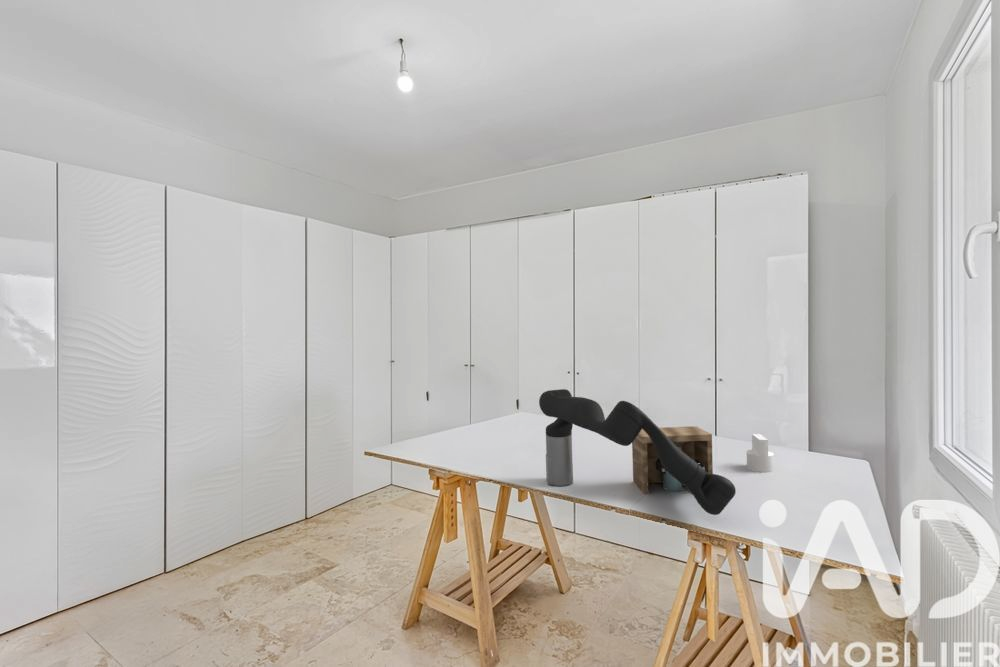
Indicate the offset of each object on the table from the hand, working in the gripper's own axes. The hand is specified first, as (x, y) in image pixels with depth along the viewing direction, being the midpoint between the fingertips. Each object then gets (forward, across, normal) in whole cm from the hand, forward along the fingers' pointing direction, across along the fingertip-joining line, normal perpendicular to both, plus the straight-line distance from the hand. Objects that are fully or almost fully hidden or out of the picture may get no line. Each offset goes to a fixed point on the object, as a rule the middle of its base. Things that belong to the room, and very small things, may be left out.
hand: (671, 460), depth 165 cm
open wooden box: (0, 0, +9) cm, 9 cm away
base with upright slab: (+16, -39, +10) cm, 43 cm away
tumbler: (0, 0, +9) cm, 9 cm away
